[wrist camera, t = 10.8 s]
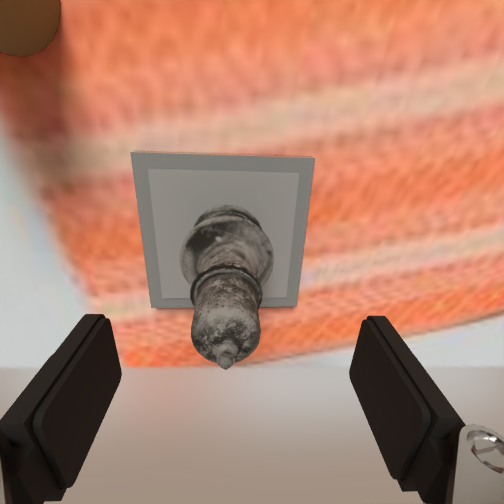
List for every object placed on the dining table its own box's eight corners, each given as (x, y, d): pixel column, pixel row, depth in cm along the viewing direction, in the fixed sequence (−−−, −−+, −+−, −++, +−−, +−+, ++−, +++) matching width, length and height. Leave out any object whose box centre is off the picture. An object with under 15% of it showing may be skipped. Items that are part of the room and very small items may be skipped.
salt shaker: (256, 280, 22) (281, 430, 12) (181, 267, 21) (132, 416, 11) (276, 210, 20) (332, 314, 9) (194, 192, 19) (148, 283, 8)
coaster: (311, 156, 20) (315, 158, 19) (294, 299, 25) (296, 307, 24) (135, 150, 19) (129, 152, 18) (154, 300, 24) (150, 309, 23)
